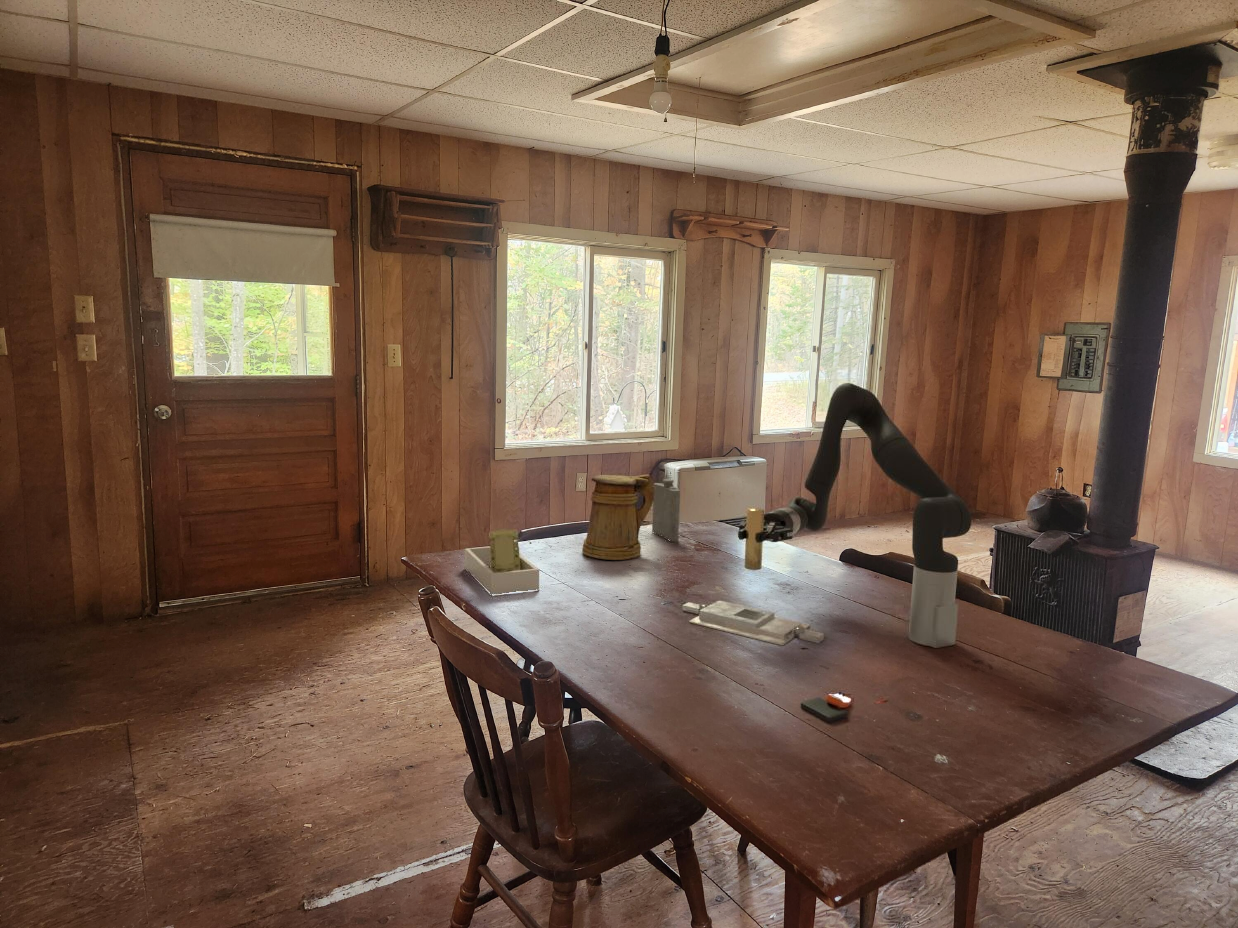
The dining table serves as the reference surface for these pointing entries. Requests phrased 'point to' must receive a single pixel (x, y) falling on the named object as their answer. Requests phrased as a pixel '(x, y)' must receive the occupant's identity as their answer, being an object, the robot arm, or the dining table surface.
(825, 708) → the multimeter
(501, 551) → the mechanical component
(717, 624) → the peg-in-hole plate
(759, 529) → the pin
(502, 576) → the parts tray
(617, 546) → the tankard
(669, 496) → the hip flask
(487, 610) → the dining table surface
